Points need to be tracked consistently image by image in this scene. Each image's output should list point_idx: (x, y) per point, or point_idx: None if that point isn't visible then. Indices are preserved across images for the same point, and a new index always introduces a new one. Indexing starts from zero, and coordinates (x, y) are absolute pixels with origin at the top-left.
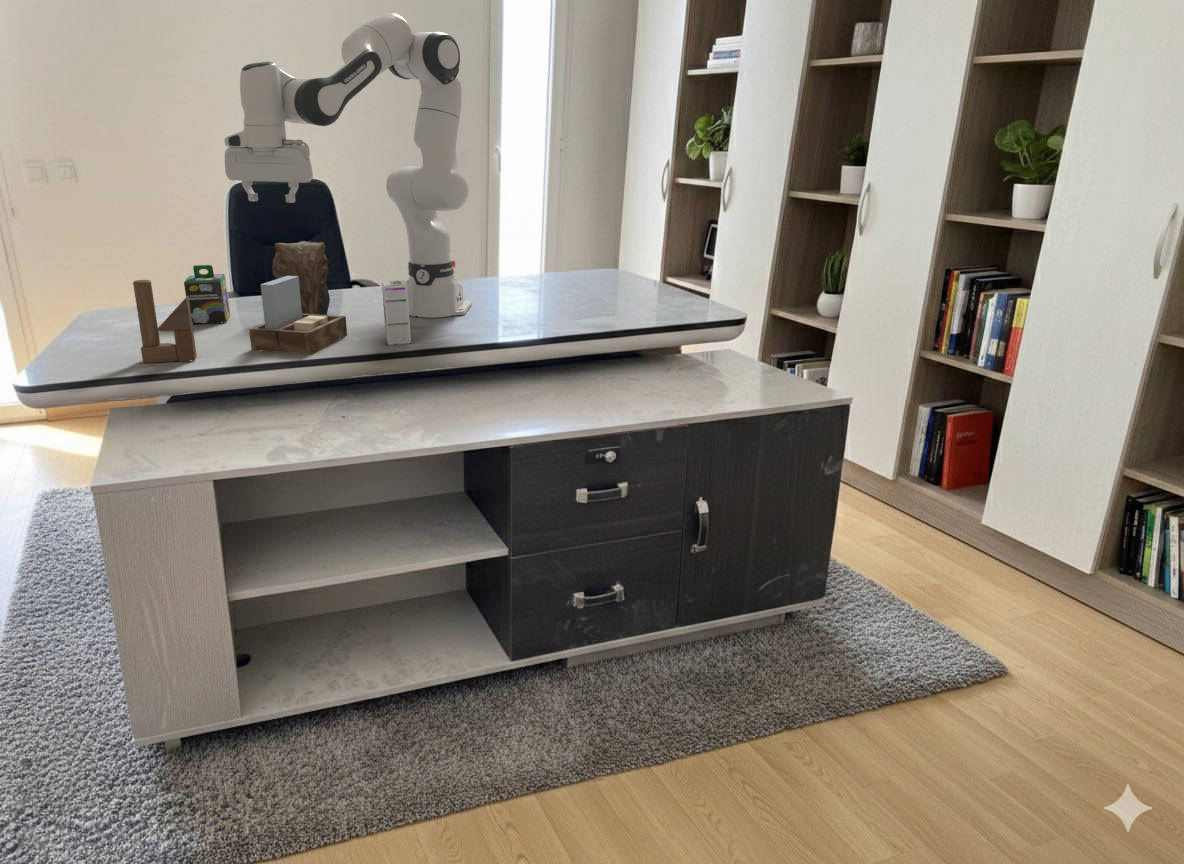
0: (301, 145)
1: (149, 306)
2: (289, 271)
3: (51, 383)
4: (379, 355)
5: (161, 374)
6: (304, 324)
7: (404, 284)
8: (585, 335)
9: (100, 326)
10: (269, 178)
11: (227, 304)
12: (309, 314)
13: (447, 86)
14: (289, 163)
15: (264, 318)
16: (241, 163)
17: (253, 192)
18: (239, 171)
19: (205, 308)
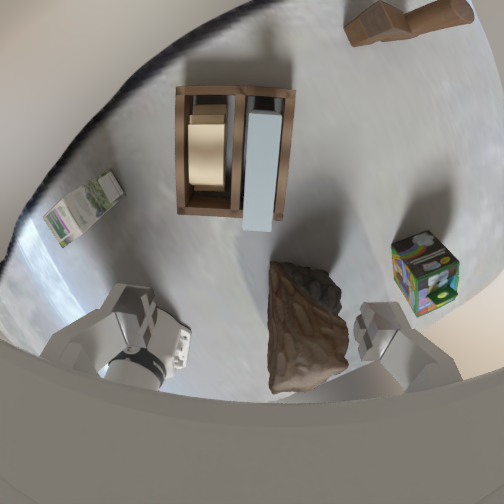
0: None
1: (427, 5)
2: (314, 323)
3: None
4: (97, 115)
5: None
6: (203, 124)
7: (44, 218)
8: (4, 257)
9: (500, 209)
10: (209, 420)
11: (400, 280)
12: (242, 214)
13: None
14: None
15: (276, 112)
16: (496, 486)
17: (384, 357)
18: (497, 425)
19: (421, 247)
